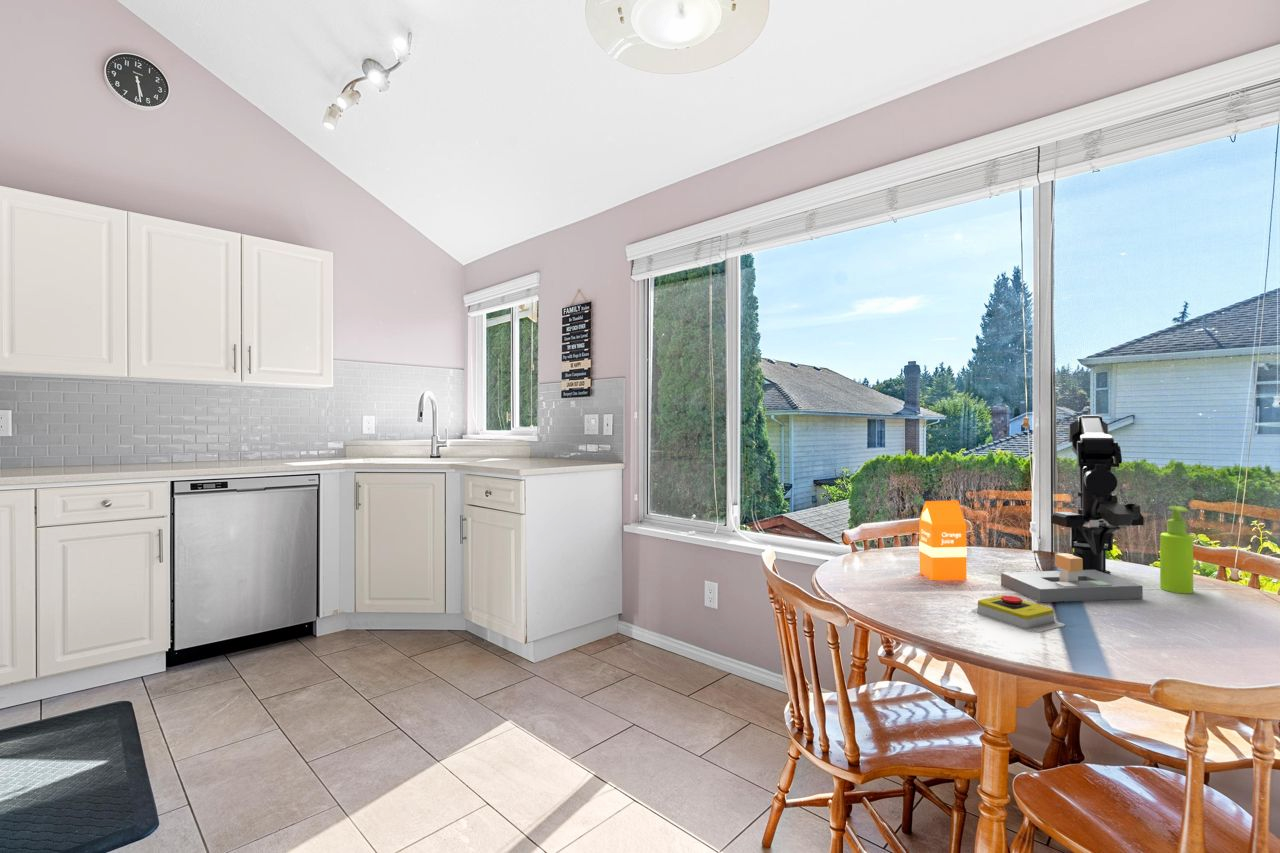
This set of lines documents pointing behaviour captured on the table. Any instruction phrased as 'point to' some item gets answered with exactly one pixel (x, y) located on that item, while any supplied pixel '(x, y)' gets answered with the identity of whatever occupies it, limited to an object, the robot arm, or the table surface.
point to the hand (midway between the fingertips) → (1096, 554)
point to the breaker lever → (1068, 566)
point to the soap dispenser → (1176, 555)
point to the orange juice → (942, 541)
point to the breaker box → (1071, 586)
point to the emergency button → (1018, 613)
